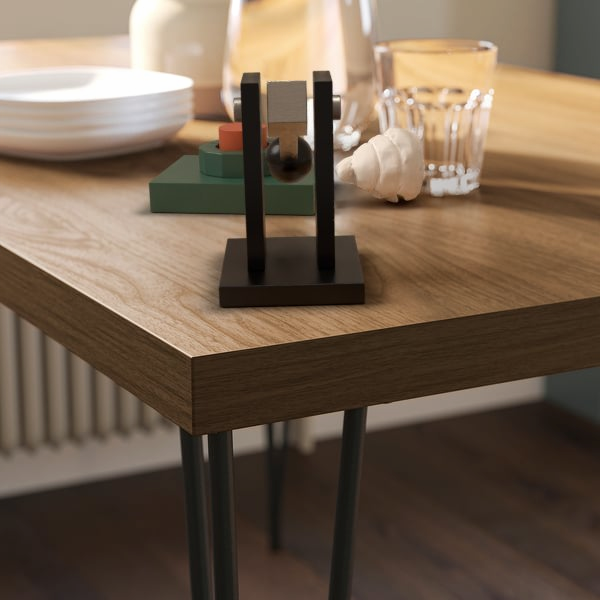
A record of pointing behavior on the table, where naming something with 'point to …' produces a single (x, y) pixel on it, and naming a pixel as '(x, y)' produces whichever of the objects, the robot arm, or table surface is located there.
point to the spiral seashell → (386, 165)
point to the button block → (224, 186)
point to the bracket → (290, 250)
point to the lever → (288, 131)
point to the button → (235, 137)
